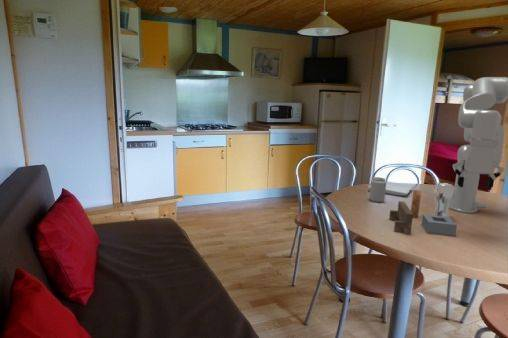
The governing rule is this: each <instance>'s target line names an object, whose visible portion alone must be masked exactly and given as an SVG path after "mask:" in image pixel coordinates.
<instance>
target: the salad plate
mask: <svg viewBox="0 0 508 338" xmlns="http://www.w3.org/2000/svg"><path fill="white" fill-rule="evenodd" d="M385 181H386V191H385V195H386V194H387V195H392V196H400V197H405V196H407V195H408V194H409V192H410V191H411V189H412V188H414V186H413V185H412V184H411V185H409V184H406V183H405V184H404V183H398V182H392V181H387V180H385ZM367 188H368V189H369V190H370V185H369V186H367Z"/></svg>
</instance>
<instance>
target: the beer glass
mask: <svg viewBox="0 0 508 338" xmlns="http://www.w3.org/2000/svg"><path fill="white" fill-rule="evenodd" d="M454 187H455V184H454V185H453V184H451V183H447V182H437V184H436V187H435V193H434V201H435V208H434V211H433V214H432V215H436V216H446V217H449V210H450V208H449V207H450V204H451V203H452V200H453V194H454Z"/></svg>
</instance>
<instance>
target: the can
mask: <svg viewBox="0 0 508 338" xmlns="http://www.w3.org/2000/svg"><path fill="white" fill-rule="evenodd" d="M386 181H387V180H386V178H384V177H379V176H377V177H376V176H374V177H372V179H371V180H370V185H369V186H370V189H369V196H368V199H369V200H370V202H372V203H383V202H384V201H385V199H386V193H385V191H386Z"/></svg>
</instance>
